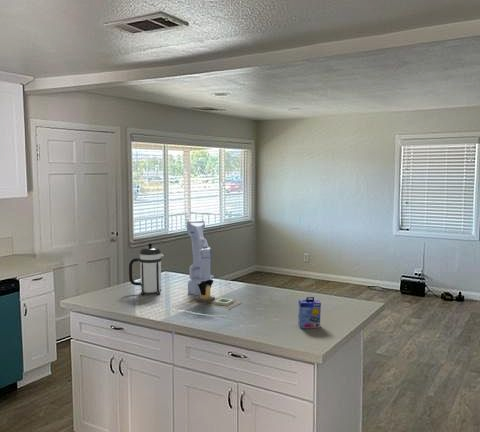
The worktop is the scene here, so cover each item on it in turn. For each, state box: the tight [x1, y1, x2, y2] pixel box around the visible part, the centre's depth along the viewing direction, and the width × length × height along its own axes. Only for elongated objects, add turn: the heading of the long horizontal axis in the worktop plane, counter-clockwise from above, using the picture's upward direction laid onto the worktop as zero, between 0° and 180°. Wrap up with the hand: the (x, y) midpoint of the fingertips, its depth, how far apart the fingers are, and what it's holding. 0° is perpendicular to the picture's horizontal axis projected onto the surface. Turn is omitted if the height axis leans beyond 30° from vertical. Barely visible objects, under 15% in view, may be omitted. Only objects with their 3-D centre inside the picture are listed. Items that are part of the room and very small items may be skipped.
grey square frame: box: [196, 295, 216, 303], centre depth 266 cm, size 8×8×2 cm
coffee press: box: [128, 242, 165, 296], centre depth 284 cm, size 17×16×30 cm
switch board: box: [188, 297, 243, 311], centre depth 263 cm, size 26×14×1 cm, turn 61°
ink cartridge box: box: [297, 296, 322, 329], centre depth 225 cm, size 10×6×14 cm, turn 95°
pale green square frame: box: [214, 297, 235, 306], centre depth 260 cm, size 8×8×2 cm
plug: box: [199, 284, 211, 300], centre depth 266 cm, size 4×4×8 cm
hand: (205, 293), depth 266 cm, fingers closed on plug, 4 cm apart
